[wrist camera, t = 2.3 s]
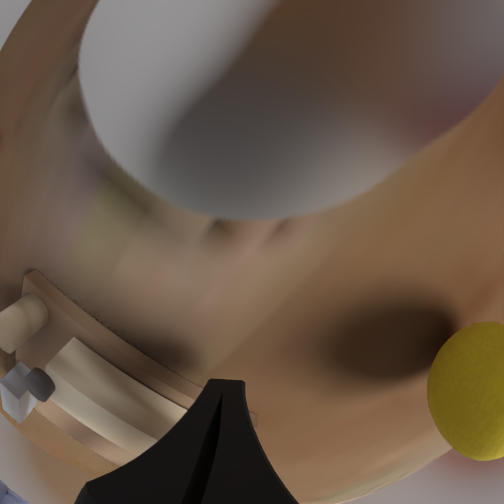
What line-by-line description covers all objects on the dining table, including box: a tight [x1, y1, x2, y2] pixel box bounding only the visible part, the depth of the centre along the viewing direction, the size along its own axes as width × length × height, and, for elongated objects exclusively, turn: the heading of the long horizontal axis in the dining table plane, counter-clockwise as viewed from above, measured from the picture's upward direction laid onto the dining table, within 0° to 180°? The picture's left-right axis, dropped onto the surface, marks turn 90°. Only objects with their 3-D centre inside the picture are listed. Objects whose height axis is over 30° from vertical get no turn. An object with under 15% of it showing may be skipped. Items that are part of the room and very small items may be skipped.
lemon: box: [427, 322, 504, 461], centre depth 8 cm, size 6×6×8 cm
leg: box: [24, 337, 187, 456], centre depth 10 cm, size 10×2×3 cm, turn 56°
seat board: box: [0, 269, 258, 467], centre depth 12 cm, size 14×12×4 cm
